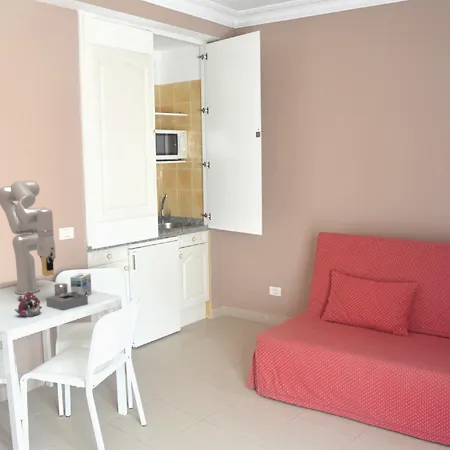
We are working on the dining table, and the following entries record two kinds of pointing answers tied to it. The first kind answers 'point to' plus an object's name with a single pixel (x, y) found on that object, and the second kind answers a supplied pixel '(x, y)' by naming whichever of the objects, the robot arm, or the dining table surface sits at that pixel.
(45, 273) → the square bit
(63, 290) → the round bit
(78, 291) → the light bulb box
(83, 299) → the bore block
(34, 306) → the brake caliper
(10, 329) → the dining table surface
